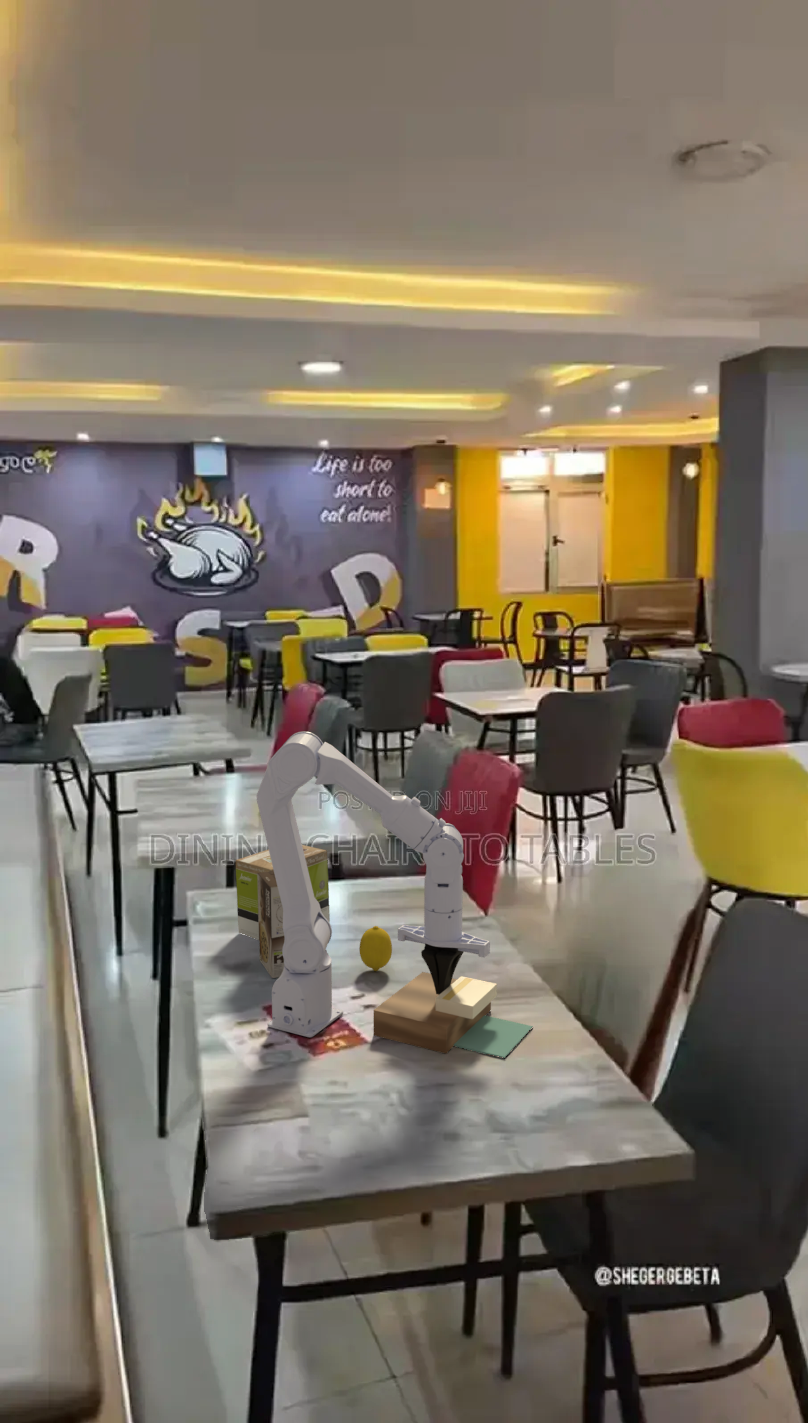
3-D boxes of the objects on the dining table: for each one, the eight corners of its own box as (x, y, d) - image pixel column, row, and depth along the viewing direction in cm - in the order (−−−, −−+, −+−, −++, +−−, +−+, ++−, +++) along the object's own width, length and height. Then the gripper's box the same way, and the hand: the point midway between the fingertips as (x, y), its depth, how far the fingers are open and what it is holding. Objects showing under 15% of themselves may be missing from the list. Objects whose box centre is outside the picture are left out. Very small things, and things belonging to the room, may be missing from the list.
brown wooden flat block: (446, 1053, 155) (446, 1027, 154) (373, 1035, 160) (373, 1009, 160) (490, 1010, 169) (491, 986, 168) (422, 995, 174) (422, 971, 174)
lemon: (378, 980, 180) (378, 934, 179) (353, 971, 183) (352, 927, 182) (398, 969, 184) (398, 925, 183) (373, 961, 188) (373, 918, 186)
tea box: (293, 912, 212) (292, 839, 210) (330, 924, 206) (330, 849, 204) (236, 934, 201) (234, 857, 198) (273, 947, 195) (272, 868, 192)
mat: (504, 1058, 153) (504, 1056, 153) (453, 1046, 157) (453, 1044, 157) (532, 1028, 163) (532, 1026, 163) (484, 1016, 167) (484, 1014, 167)
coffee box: (308, 973, 183) (307, 882, 180) (271, 979, 180) (269, 886, 178) (293, 954, 191) (292, 866, 188) (258, 959, 189) (256, 870, 186)
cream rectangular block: (472, 1019, 157) (472, 1006, 156) (435, 1010, 159) (435, 997, 159) (496, 996, 165) (497, 983, 164) (461, 988, 167) (461, 975, 167)
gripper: (498, 906, 162) (497, 991, 164) (412, 891, 168) (412, 973, 170) (479, 921, 155) (478, 1009, 158) (391, 905, 162) (391, 990, 164)
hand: (442, 992), depth 164 cm, fingers closed
